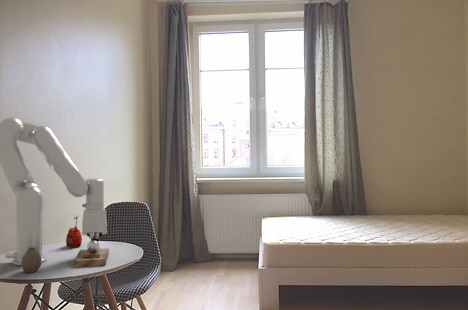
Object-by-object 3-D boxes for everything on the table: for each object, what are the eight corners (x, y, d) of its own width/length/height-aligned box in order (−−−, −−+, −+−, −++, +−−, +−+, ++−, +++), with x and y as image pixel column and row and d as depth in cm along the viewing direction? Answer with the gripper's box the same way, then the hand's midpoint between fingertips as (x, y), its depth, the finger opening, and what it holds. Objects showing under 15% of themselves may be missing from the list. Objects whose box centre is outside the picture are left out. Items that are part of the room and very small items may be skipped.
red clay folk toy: (62, 247, 192) (62, 215, 192) (74, 244, 198) (74, 213, 198) (74, 248, 188) (74, 217, 188) (85, 245, 195) (85, 214, 194)
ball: (86, 253, 170) (86, 242, 170) (87, 250, 175) (87, 239, 175) (98, 253, 171) (98, 241, 171) (99, 250, 176) (99, 238, 176)
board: (74, 267, 159) (74, 260, 159) (80, 255, 177) (80, 249, 177) (105, 265, 162) (105, 258, 162) (108, 253, 180) (108, 248, 180)
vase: (33, 274, 150) (33, 251, 150) (17, 273, 151) (16, 250, 151) (45, 269, 157) (45, 246, 156) (29, 267, 158) (29, 245, 158)
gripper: (75, 208, 174) (75, 250, 174) (111, 207, 177) (111, 248, 177) (77, 205, 181) (77, 246, 181) (112, 204, 184) (112, 244, 185)
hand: (94, 247), depth 179 cm, fingers closed
